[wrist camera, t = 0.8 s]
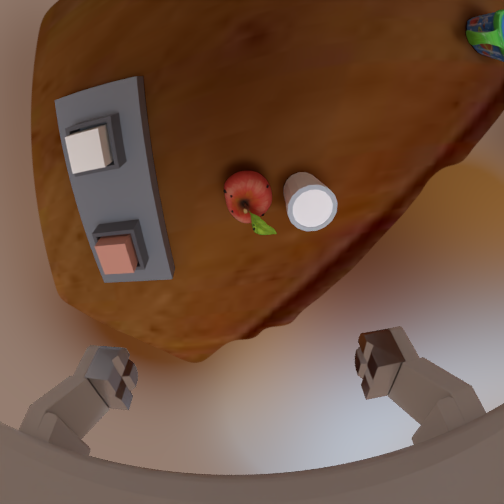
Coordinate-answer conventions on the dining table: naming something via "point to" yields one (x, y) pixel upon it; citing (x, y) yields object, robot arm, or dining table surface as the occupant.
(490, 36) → the snack cup
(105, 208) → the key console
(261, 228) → the apple
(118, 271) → the key brick
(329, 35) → the dining table surface
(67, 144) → the key ivory
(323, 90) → the dining table surface
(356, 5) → the dining table surface
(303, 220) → the white short cylinder
